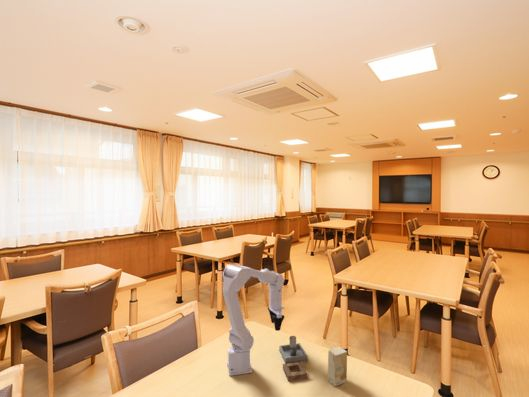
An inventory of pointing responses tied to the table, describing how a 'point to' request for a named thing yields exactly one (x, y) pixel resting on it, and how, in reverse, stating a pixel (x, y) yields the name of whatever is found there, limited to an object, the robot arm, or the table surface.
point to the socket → (296, 375)
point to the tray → (299, 356)
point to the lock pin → (292, 346)
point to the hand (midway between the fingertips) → (275, 326)
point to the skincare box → (337, 366)
